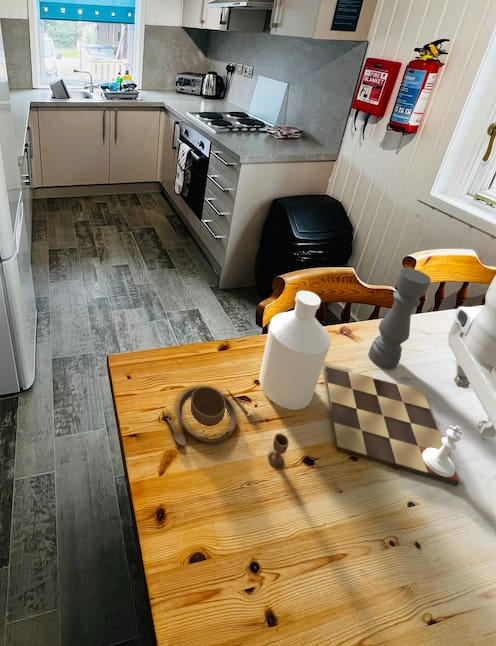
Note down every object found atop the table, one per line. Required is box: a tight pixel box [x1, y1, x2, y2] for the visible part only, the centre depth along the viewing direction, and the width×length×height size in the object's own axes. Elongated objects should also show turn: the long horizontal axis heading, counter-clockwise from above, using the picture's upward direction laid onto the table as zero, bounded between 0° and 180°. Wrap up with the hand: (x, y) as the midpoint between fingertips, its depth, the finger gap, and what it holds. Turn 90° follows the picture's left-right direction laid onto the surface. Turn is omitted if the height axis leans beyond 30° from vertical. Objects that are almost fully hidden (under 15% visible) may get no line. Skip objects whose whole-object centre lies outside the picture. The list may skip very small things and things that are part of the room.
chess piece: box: [422, 425, 464, 477], centre depth 71 cm, size 5×5×10 cm
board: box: [323, 366, 460, 487], centre depth 82 cm, size 20×20×1 cm
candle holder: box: [368, 267, 432, 371], centre depth 92 cm, size 6×6×25 cm
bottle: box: [258, 290, 331, 411], centre depth 84 cm, size 12×12×25 cm
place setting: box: [165, 386, 290, 469], centre depth 77 cm, size 18×20×6 cm
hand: (471, 407), depth 67 cm, fingers open, 8 cm apart
